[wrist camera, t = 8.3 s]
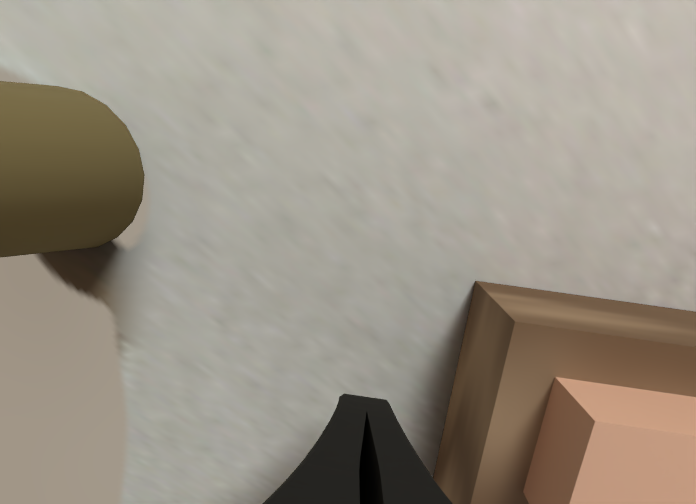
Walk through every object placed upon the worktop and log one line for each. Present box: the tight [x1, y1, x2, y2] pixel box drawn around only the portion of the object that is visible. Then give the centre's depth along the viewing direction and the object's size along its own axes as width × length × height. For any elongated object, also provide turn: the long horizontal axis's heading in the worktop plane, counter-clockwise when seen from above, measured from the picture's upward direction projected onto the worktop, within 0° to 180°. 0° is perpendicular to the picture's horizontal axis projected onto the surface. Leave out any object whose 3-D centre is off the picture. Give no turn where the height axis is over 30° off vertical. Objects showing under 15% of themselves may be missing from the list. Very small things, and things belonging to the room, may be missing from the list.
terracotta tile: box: [523, 377, 696, 504], centre depth 11 cm, size 4×5×2 cm
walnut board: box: [433, 281, 696, 504], centre depth 14 cm, size 13×10×4 cm
